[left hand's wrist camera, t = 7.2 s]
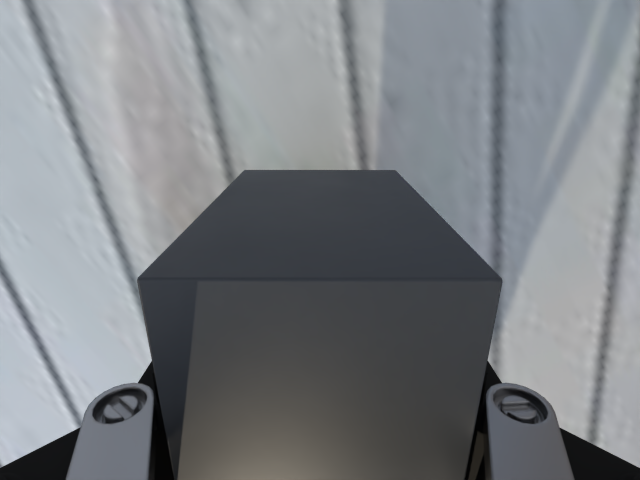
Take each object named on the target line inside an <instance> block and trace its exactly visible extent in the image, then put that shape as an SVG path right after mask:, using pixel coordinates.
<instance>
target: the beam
mask: <svg viewBox="0 0 640 480" xmlns="http://www.w3.org/2000/svg"><path fill="white" fill-rule="evenodd" d="M137 283H138V288H139V293H140V299H141V304H142V309H143V315H144V320H145V325H146V331H147V336H148V341H149V347H150V352H151V357H152V363H153V368H154V374H155V379H156V384H157V390H158V395H159V400H160V406H161V411H162V416H163V422H164V427H165V432H166V438H167V443H168V449H169V454H170V459H171V465H172V470H173V475H174V480H465V476H466V471H467V465H468V460H469V455H470V450H471V444H472V439H473V434H474V428H475V423H476V418H477V413H478V407H479V402H480V397H481V391H482V386H483V381H484V376H485V370H486V365H487V360H488V355H489V349H490V344H491V339H492V333H493V328H494V323H495V318H496V312H497V307H498V302H499V297H500V291H501V286H502V278H501V277H500V276H499V275H498V274H497V273H496V272H495V271H494V270H493V269H492V268H491V267H490V266H489V265H488V264H487V263H486V262H485V261H484V260H483V259H482V258H481V257H480V256H479V255H478V254H477V253H476V252H475V251H474V250H473V249H472V248H471V247H470V246H469V245H468V244H467V243H466V242H465V241H464V240H463V239H462V238H461V237H460V235H459V234H458V233H457V232H456V231H455V230H454V229H453V228H452V227H451V226H450V225H449V224H448V223H447V222H446V221H445V220H444V219H443V218H442V217H441V216H440V215H439V214H438V213H437V212H436V211H435V210H434V209H433V208H432V207H431V206H430V205H429V204H428V203H427V202H426V201H425V200H424V199H423V198H422V197H421V196H420V195H419V194H418V193H417V192H416V191H415V190H414V189H413V188H412V187H411V186H410V185H409V184H408V183H407V182H406V181H405V180H404V179H403V178H402V177H401V175H400V174H399V173H398V172H397V171H395V170H244V171H243V172H242V173H241V174H240V175H239V176H238V177H237V178H236V179H235V180H234V181H233V182H232V183H231V184H230V185H229V186H228V187H227V188H226V189H225V190H224V191H223V192H222V193H221V194H220V195H219V196H218V197H217V198H216V199H215V200H214V201H213V202H212V204H211V205H210V206H209V207H208V208H207V209H206V210H205V211H204V212H203V213H202V214H201V215H200V216H199V217H198V218H197V219H196V220H195V221H194V222H193V223H192V224H191V225H190V226H189V227H188V228H187V229H186V230H185V231H184V232H183V233H182V234H181V235H180V236H179V237H178V238H177V239H176V240H175V241H174V242H173V243H172V244H171V245H170V246H169V247H168V248H167V249H166V250H165V251H164V252H163V253H162V254H161V255H160V256H159V257H158V258H157V259H156V260H155V261H154V262H153V263H152V264H151V265H150V266H149V267H148V268H147V269H146V270H145V271H144V272H143V273H142V274H141V275H140V276H139V277H138V279H137Z"/></svg>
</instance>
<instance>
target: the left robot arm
mask: <svg viewBox="0 0 640 480" xmlns="http://www.w3.org/2000/svg"><path fill="white" fill-rule="evenodd" d="M0 480H174V475H173V470H172V465H171V459H170V454H169V449H168V443H167V438H166V432H165V427H164V422H163V416H162V411H161V406H160V400H159V395H158V390H157V384H156V379H155V374H154V368H153V363H152V362H151V363H150V365H149V366H148V368H147V369H146V371H145V373H144V374H143V376H142V377H141V379H140V380H139V382H138V383H129V384H123V385H119V386H116V387H113V388H111V389H109V390H107V391H105V392H103V393H102V394H100V395H99V396H98V397H96V398H95V399H94V400H93V401H92V402H91V403H90V404H89V406H88V408H87V410H86V411H85V414H84V418H83V421H82V425H81V427H80V428H78V429H76V430H74V431H72V432H71V433H69V434H67V435H65V436H63V437H61V438H59V439H57V440H55V441H53V442H51V443H49V444H47V445H45V446H43V447H41V448H39V449H37V450H35V451H33V452H31V453H29V454H27V455H25V456H23V457H21V458H19V459H17V460H15V461H13V462H11V463H9V464H7V465H5V466H3V467H1V468H0ZM465 480H640V468H638V467H636V466H634V465H632V464H631V463H629V462H627V461H625V460H623V459H621V458H619V457H617V456H615V455H613V454H611V453H609V452H607V451H605V450H603V449H601V448H599V447H597V446H595V445H593V444H591V443H589V442H587V441H585V440H583V439H581V438H579V437H577V436H575V435H573V434H571V433H569V432H567V431H565V430H563V429H561V428H559V425H558V421H557V418H556V414H555V411H554V410H553V408H552V406H551V404H550V403H549V402H548V401H547V400H546V399H545V398H544V397H542V396H541V395H540V394H538V393H537V392H535V391H533V390H531V389H529V388H527V387H524V386H521V385H517V384H511V383H502V382H501V381H500V379H499V378H498V376H497V375H496V373H495V371H494V370H493V368H492V367H491V365H490V364H489V362H488V361H487V365H486V370H485V376H484V381H483V386H482V391H481V397H480V402H479V407H478V413H477V418H476V423H475V428H474V434H473V439H472V444H471V450H470V455H469V460H468V465H467V471H466V476H465Z"/></svg>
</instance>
